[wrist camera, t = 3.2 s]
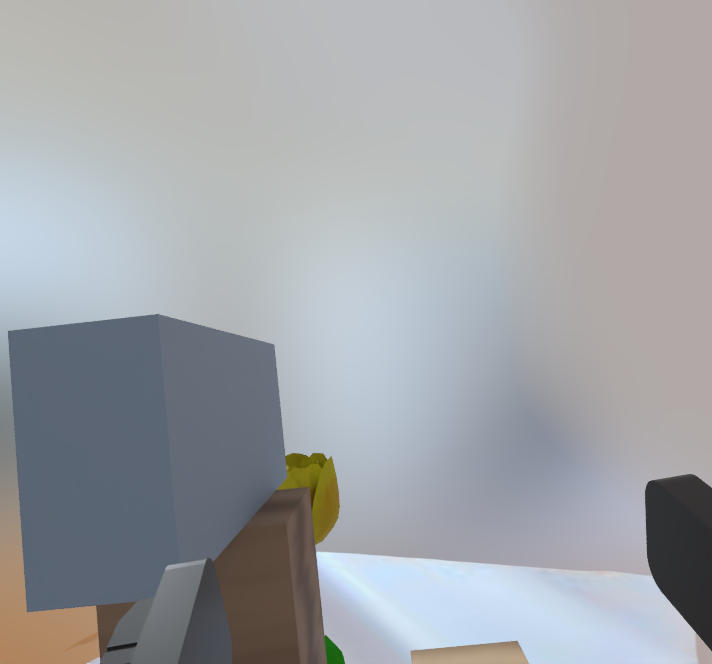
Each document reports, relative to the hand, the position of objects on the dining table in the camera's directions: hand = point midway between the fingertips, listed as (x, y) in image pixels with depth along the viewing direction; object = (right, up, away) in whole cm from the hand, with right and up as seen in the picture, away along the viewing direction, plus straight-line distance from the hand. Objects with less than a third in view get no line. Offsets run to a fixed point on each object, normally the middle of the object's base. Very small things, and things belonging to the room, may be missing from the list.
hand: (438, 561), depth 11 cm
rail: (-9, -5, +19) cm, 22 cm away
